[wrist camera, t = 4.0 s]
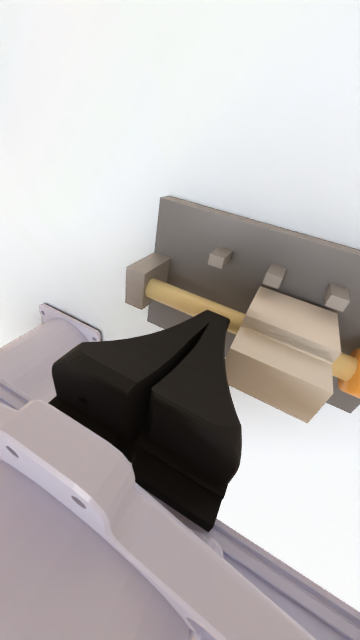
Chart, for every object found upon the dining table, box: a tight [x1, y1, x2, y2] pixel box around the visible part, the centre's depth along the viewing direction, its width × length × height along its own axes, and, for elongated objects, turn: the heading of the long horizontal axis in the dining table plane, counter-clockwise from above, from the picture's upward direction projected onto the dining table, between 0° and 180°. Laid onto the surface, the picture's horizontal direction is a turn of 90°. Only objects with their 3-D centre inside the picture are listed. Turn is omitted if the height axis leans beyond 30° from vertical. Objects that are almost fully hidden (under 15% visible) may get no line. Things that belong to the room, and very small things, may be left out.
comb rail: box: [125, 196, 360, 413], centre depth 14 cm, size 9×15×4 cm, turn 79°
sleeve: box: [225, 286, 341, 423], centre depth 12 cm, size 3×4×5 cm
